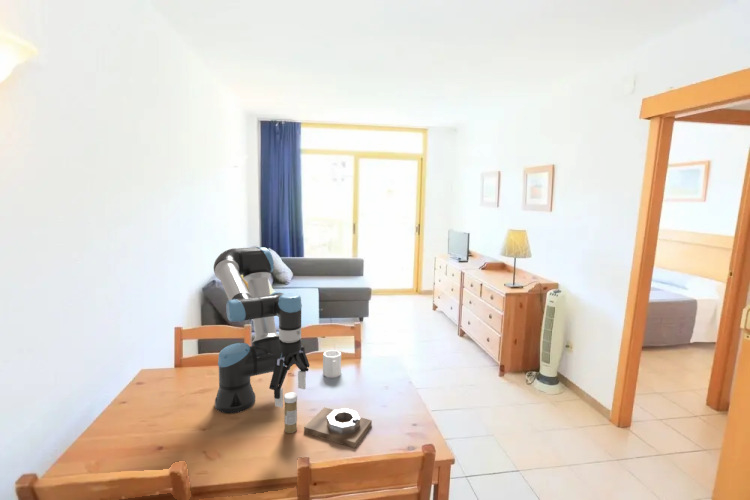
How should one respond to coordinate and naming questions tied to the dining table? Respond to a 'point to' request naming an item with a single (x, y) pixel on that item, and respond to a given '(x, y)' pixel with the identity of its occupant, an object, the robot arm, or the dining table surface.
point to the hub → (343, 427)
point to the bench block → (321, 430)
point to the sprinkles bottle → (290, 412)
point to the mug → (332, 363)
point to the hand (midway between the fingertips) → (290, 397)
